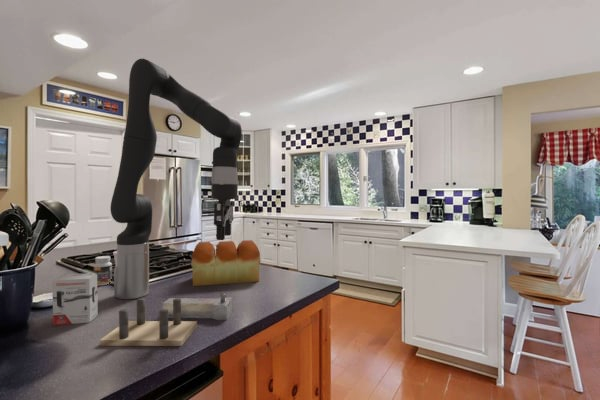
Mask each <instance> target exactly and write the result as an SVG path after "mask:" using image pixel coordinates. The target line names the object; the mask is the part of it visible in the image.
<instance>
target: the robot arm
mask: <svg viewBox="0 0 600 400" xmlns="http://www.w3.org/2000/svg"><path fill="white" fill-rule="evenodd" d="M151 96H154V97H155V96H156V97H159V98H161V99H162V100H163V99H164V100H166V101H169V102H171V103H172V104H173V105H175V106H177V108H178V109H179V110H180V111H181V112H182V113H183V114H184V115H185V116H186V117H189V118H190V119H191V120H193V121H194V122H196V123H197V124H198V125H200V126H202V128H204V129H205V130H206V132H208V133H210V135H212V136H214V137H216V138H219V139H220V142H219V146H217V147H215V148H214V149H213V151H212V170H211V196H210V197H211V199H212V200H218V201H217V203H216V202H215V203H214V204H213V210H214V211H213V226H215V229H216V236H215V237H216V238H215V239H216V240H217V241H225V238H226V236H227V237H228V236H231V235H232V224H233V221H234V202H233V201H231V200H236V199H238V190H239V189H238V186H239V181H238V178H239V177H238V175H239V174H238V153H239V148H240V145H241V141H242V136H243V131H242V130H243V129H242V126H241V123H240V121H239V120H238V119H236V118H234V117H233V116H231V115H229V114H226V113H225V112H224V111H223V112H222V111H221V110H219V109H218V108H216V107H215V105H213V104H212V103H210V102H209V101H208V100H206V99H205V98H203V97H201V96H200V95H199V94H197V93H195V92H193V91H191V90H189V89H188V88H186V87H184V86H183V85H182V84H180V83H179V82H178V81H177V80H176V79H175V78H174V77H173V76H172V75H171V74H170V73H168V71H167V70H165V69H164V68H163V67H162V66H159V65H158V64H156V63H154V62H153V61H151V60H149V59H146V58H139V59H136V60H135V61H134V63H133V64H132V66H131V68H130V72H129V78H128V102H127V103H128V107H127V113H126V114H127V115H126V124H125V130H124V135H123V141H122V142H123V143H122V147H121V157H120V162H119V169H118V172H117V173H118V174H117V178H116V182H115V186H114V190H113V194H112V197H111V202H110V214H111V217H112V219H113V221H114V222H116V223H119V224H126V227H125V229H124V230H122V231H121V232H119V233H118V235H117V236H116V251H117V267H116V266H115V267H114V269H113V298H117V299H121V300H132V299H140V298H143V297H145V296H147V295H148V294H150V249H149V248H150V236H151V234H152V229H153V228H152V227H153V224H152V223H153V206H152V205H153V204H152V202H151V200H150V198H149V197H148V196H147V195H145V194H140V193H137V192H138V188H139V183H140V181H141V178H142V177H143V175H144V174H145V172H146V170H147V169H148V168H149V166H150V165H151V163H152V162H153V160H154V157H155V152H156V147H157V142H158V141H157V139H158V138H157V137H158V135H157V131H156V130H157V129H156V127H155V124H154V121H153V117H152V114H151V110H150V100H151Z"/></svg>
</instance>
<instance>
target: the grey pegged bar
mask: <svg viewBox="0 0 600 400" xmlns="http://www.w3.org/2000/svg"><path fill="white" fill-rule="evenodd" d="M226 295H227V293H225V292H221V293H220V296H219V298H210V297H209V298H208V297H207V298H204V297H203V298H201V297H200V298H199V297H198V298H197V297H196V298H194V297H193V298H192V297H191V298H190V297H187V298H186V297H185V298H183V297H182V298H181V297H180V299H181V319H213V320H215V321H218V320H220V321H227V320H228V319H229V317H230V315H231V313H232V312H233V297H232V296H231V297H230V296H229V297H227V296H226ZM174 299H177V297H174V298H171V297H169V298H168V299H166V300H165V301H164V302H162V310H164V309H167V310H168V319H173V300H174Z"/></svg>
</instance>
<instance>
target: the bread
mask: <svg viewBox="0 0 600 400" xmlns="http://www.w3.org/2000/svg"><path fill="white" fill-rule="evenodd" d="M260 264H261V254H260V250H259V247H258V246H257V244H256V243H255V242H254V241H253V240H252V239H247V240H242V241H240V242H239V243H238V245H237V247H236V244H235V241H233V240H227V241H226V240H221V241H219V242H218V243H217V244H216V248H215V247H214V244H213V243H211V242H210V241H199V242H198V243H197V244H196V245H195V247H194V249H193V251H192V255H191V263H190V265H191V267H192V287H195V286H196V287H198V286H199V287H200V286H211V285H225V284H237V283H238V284H241V283H253V282H260Z"/></svg>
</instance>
